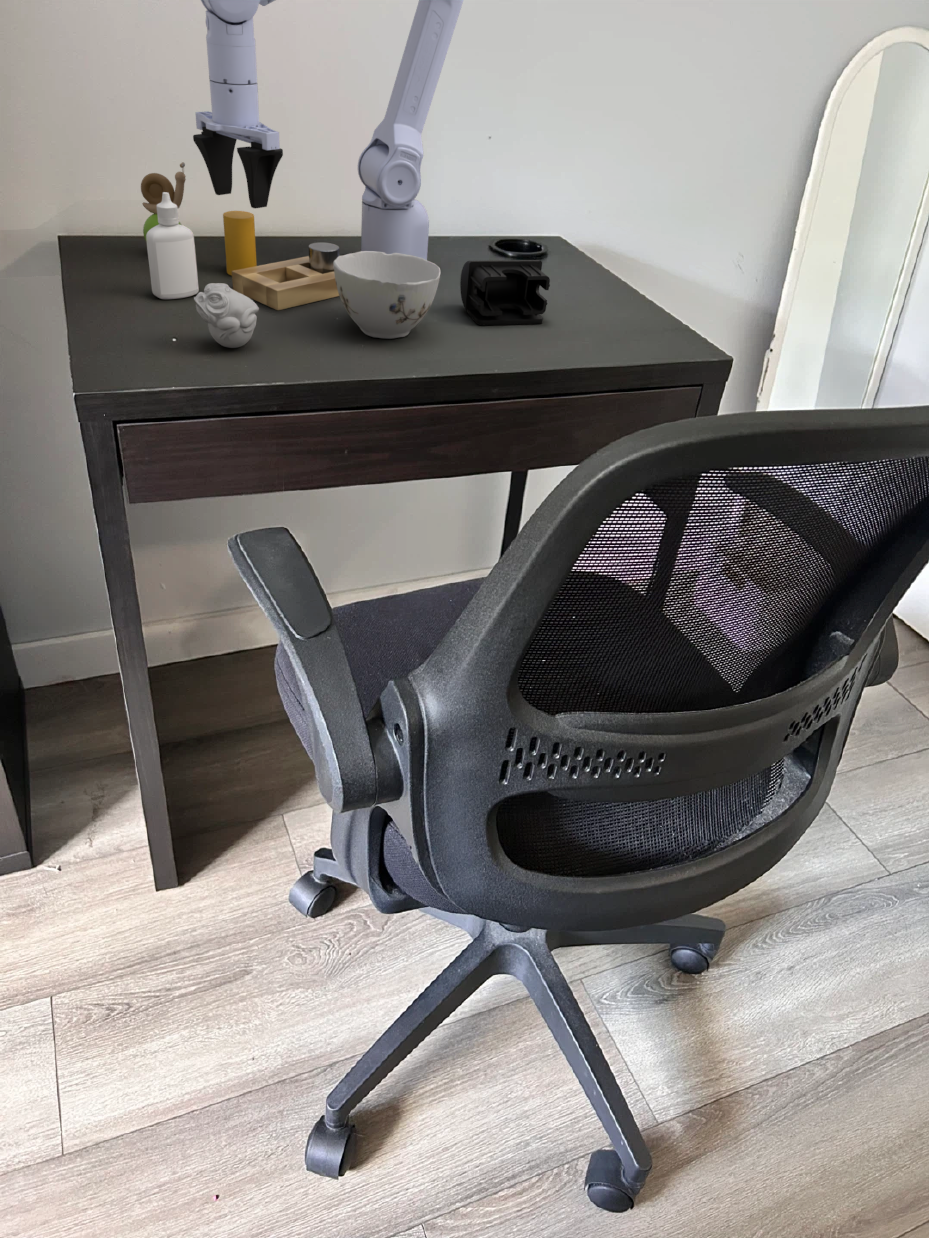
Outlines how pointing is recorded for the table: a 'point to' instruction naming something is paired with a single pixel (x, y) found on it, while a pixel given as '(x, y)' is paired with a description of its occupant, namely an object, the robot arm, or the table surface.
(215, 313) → the frog figurine
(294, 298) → the peg stand
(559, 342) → the table surface
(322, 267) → the steel peg
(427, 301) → the teacup
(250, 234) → the yellow peg
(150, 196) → the snail figurine
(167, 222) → the eye dropper bottle
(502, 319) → the end cap
